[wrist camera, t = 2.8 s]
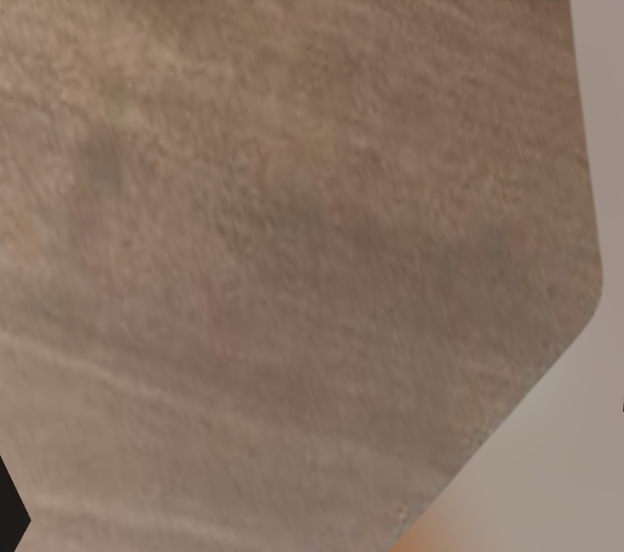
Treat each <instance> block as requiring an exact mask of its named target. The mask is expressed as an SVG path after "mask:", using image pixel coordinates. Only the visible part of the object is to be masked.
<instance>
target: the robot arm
mask: <svg viewBox="0 0 624 552" xmlns="http://www.w3.org/2000/svg"><path fill="white" fill-rule="evenodd" d="M623 412H624V407H623ZM30 522H31V519H30V517H29V515H28V512H27V510H26V508H25V506H24V504H23V502H22V500H21V498H20V496H19V494H18V492H17V489H16V487H15V485H14V483H13V481H12V479H11V477H10V475H9V473H8V471H7V469H6V466H5V464H4V462H3V460H2V458H1V456H0V552H14V551H15V549H16V547H17V546H18V544H19V542H20V540H21V538H22V536H23V535H24V533H25V531H26V529H27V527H28V525H29V524H30Z"/></svg>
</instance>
